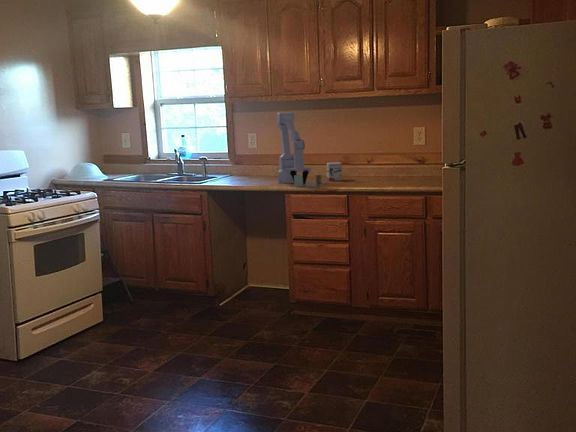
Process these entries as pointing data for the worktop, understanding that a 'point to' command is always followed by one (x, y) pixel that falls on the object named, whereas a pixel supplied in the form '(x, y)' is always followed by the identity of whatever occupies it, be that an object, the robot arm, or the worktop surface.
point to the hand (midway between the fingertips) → (299, 183)
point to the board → (311, 184)
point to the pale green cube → (298, 180)
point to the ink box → (334, 171)
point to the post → (318, 179)
